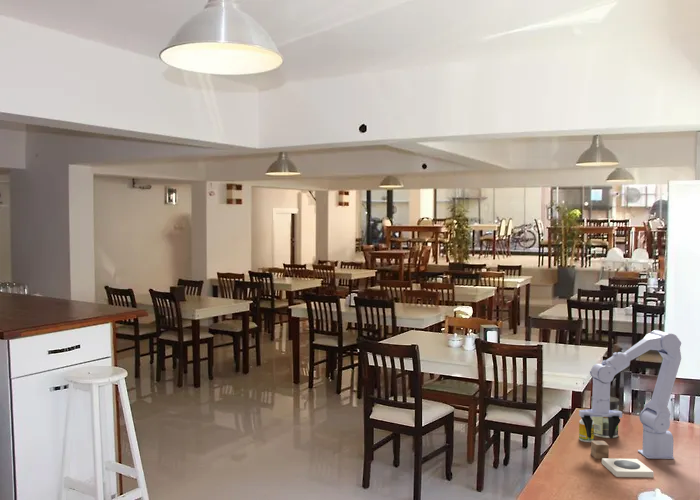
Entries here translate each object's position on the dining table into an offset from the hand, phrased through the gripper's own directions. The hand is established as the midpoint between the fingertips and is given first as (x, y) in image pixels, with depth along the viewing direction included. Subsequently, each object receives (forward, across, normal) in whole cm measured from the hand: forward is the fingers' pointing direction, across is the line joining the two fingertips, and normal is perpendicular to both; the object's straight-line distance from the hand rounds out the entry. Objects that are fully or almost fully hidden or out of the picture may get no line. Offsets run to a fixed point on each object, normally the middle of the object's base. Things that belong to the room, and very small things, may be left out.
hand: (599, 437), depth 228 cm
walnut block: (+7, 0, 0) cm, 7 cm away
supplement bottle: (+7, +2, +18) cm, 19 cm away
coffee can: (+7, +12, +26) cm, 30 cm away
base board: (+7, +4, -13) cm, 15 cm away
